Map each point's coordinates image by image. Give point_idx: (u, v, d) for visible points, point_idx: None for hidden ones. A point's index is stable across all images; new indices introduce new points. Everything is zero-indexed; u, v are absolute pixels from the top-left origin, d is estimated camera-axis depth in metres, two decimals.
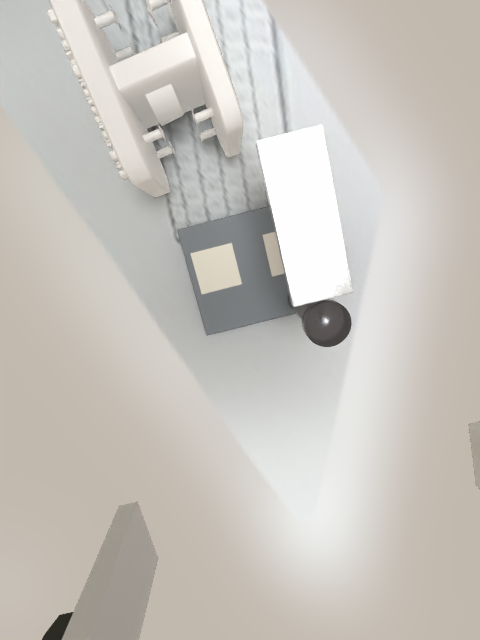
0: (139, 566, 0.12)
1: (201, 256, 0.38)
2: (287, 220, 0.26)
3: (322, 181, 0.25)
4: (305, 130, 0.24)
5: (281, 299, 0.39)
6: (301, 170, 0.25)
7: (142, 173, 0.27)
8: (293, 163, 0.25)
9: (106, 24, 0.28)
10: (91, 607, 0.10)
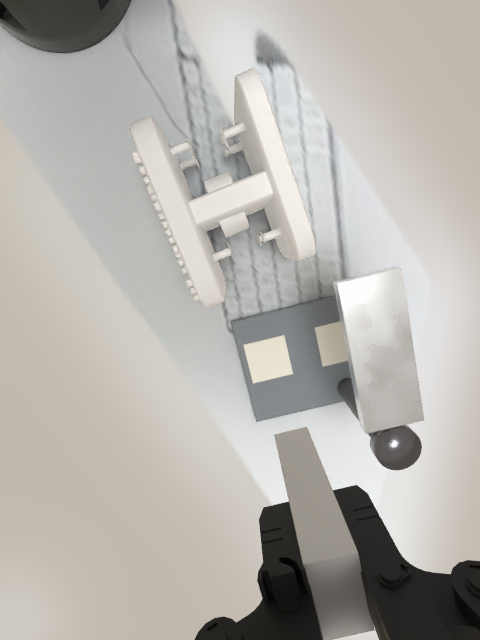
0: None
1: (254, 347, 0.39)
2: (363, 355, 0.26)
3: (399, 319, 0.26)
4: (384, 273, 0.25)
5: (331, 387, 0.40)
6: (379, 310, 0.25)
7: (216, 299, 0.28)
8: (371, 303, 0.25)
9: None
10: (303, 494, 0.12)
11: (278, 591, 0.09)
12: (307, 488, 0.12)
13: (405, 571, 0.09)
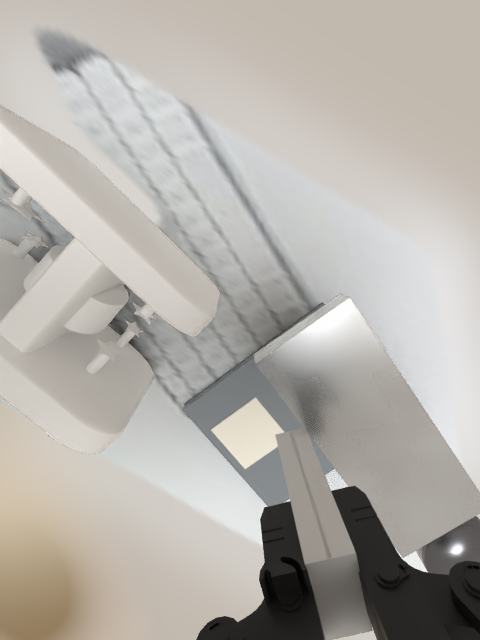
0: None
1: (225, 426, 0.29)
2: (347, 451, 0.15)
3: (382, 377, 0.15)
4: (326, 317, 0.14)
5: None
6: (342, 376, 0.15)
7: (104, 440, 0.18)
8: (325, 371, 0.15)
9: None
10: (304, 494, 0.12)
11: (280, 591, 0.09)
12: (305, 488, 0.12)
13: (403, 571, 0.09)
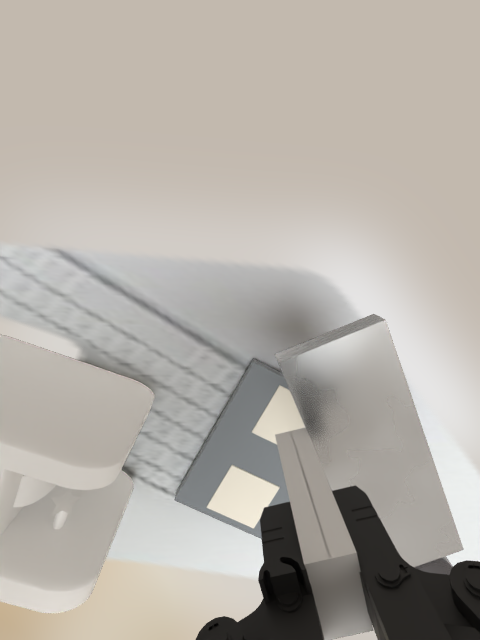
0: None
1: (218, 499, 0.30)
2: (344, 468, 0.15)
3: (396, 403, 0.15)
4: (357, 333, 0.14)
5: None
6: (358, 394, 0.15)
7: (82, 592, 0.20)
8: (344, 385, 0.15)
9: None
10: (303, 494, 0.12)
11: (279, 591, 0.09)
12: (306, 488, 0.12)
13: (404, 571, 0.09)
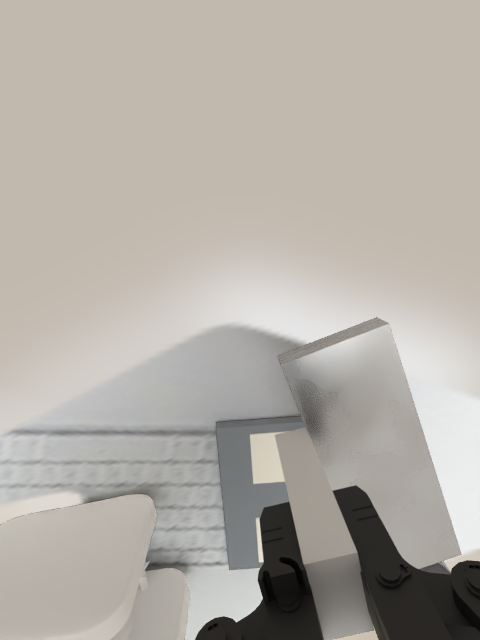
0: None
1: None
2: (345, 471, 0.15)
3: (397, 407, 0.15)
4: (361, 337, 0.14)
5: None
6: (360, 397, 0.15)
7: None
8: (346, 388, 0.15)
9: None
10: (303, 494, 0.12)
11: (279, 591, 0.09)
12: (307, 488, 0.12)
13: (405, 571, 0.09)
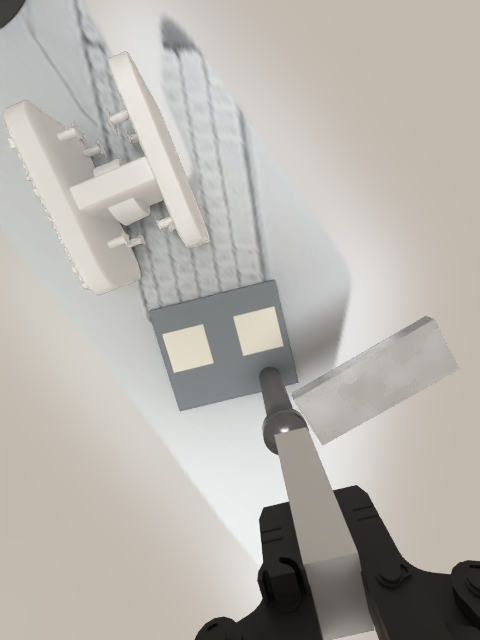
0: None
1: (173, 336, 0.39)
2: (371, 367, 0.27)
3: (413, 385, 0.27)
4: (451, 357, 0.27)
5: (253, 377, 0.40)
6: (417, 365, 0.27)
7: (104, 286, 0.28)
8: (422, 356, 0.27)
9: (69, 138, 0.28)
10: (303, 494, 0.12)
11: (278, 591, 0.09)
12: (307, 488, 0.12)
13: (405, 571, 0.09)
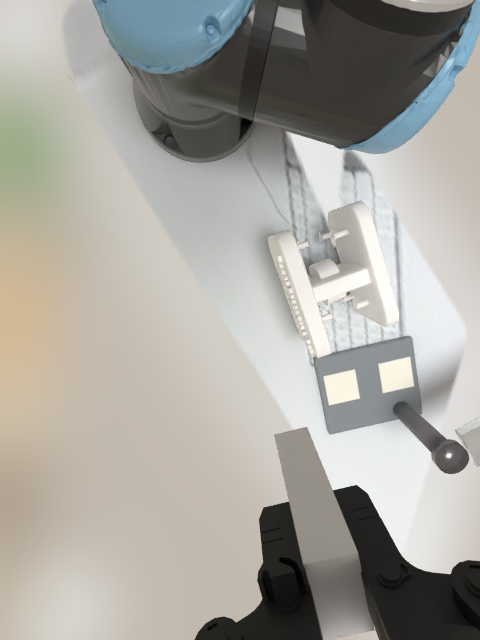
0: None
1: (331, 378, 0.51)
2: None
3: None
4: None
5: (388, 409, 0.52)
6: None
7: (326, 353, 0.40)
8: None
9: (301, 248, 0.40)
10: (303, 494, 0.12)
11: (278, 591, 0.09)
12: (307, 488, 0.12)
13: (405, 571, 0.09)
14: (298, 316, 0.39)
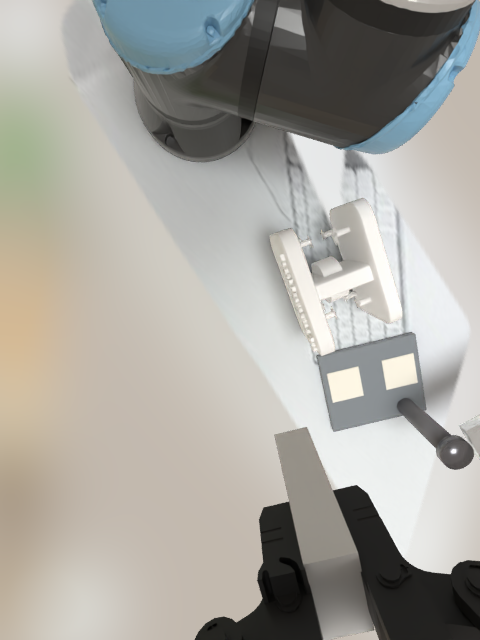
0: None
1: (335, 375, 0.51)
2: None
3: None
4: None
5: (392, 405, 0.52)
6: None
7: (330, 351, 0.40)
8: None
9: (303, 246, 0.40)
10: (303, 494, 0.12)
11: (278, 591, 0.09)
12: (307, 488, 0.12)
13: (405, 571, 0.09)
14: (301, 314, 0.40)
